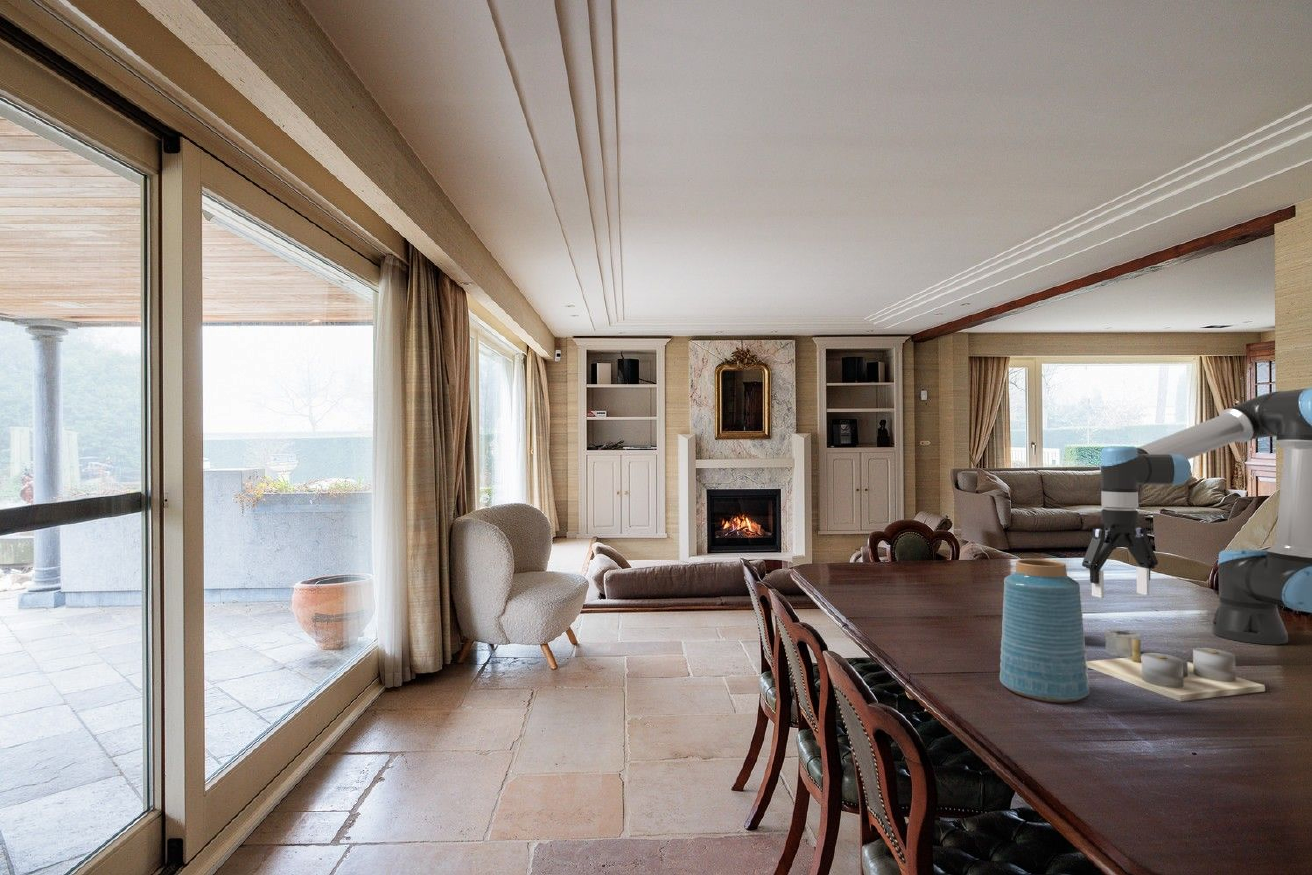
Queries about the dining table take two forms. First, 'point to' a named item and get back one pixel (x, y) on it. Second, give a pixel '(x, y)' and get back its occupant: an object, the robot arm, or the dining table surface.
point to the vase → (1043, 633)
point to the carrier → (1179, 673)
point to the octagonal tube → (1120, 642)
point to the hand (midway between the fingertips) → (1120, 595)
